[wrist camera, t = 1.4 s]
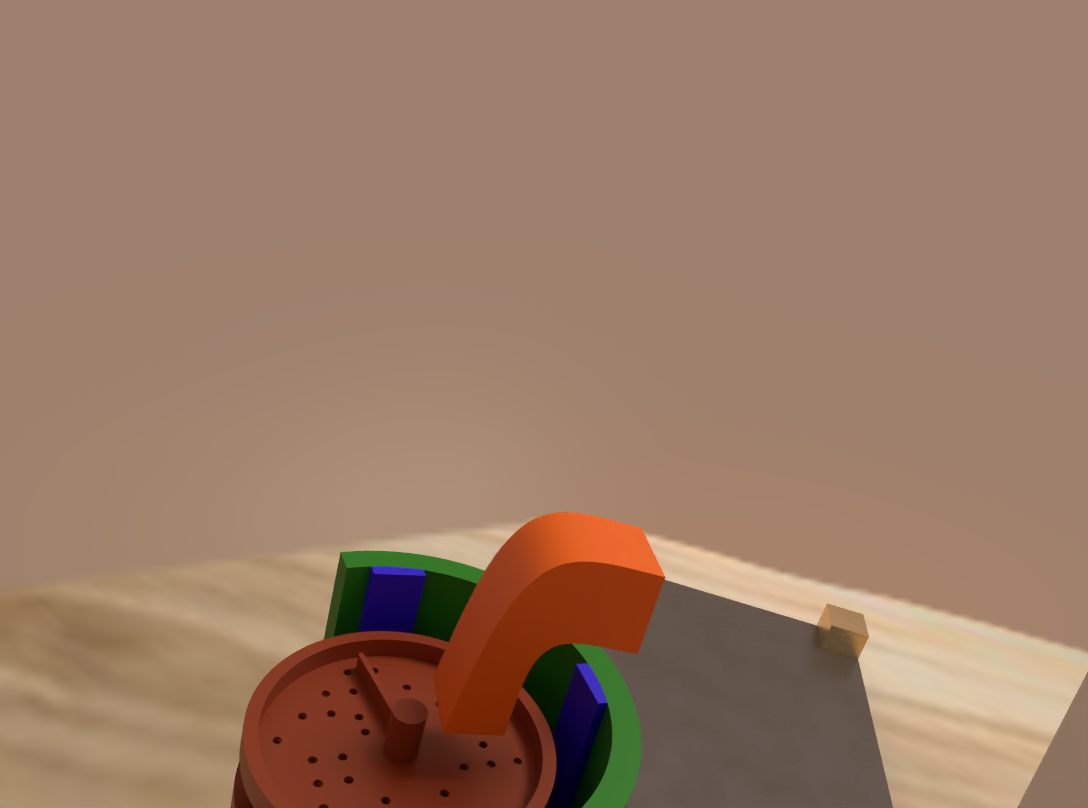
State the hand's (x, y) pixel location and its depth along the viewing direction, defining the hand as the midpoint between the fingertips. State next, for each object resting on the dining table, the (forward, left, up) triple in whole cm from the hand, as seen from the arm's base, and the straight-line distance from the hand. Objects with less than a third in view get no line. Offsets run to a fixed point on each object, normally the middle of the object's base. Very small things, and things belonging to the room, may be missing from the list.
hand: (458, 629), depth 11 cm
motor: (0, +9, -24) cm, 26 cm away
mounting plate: (+10, +30, -24) cm, 40 cm away
